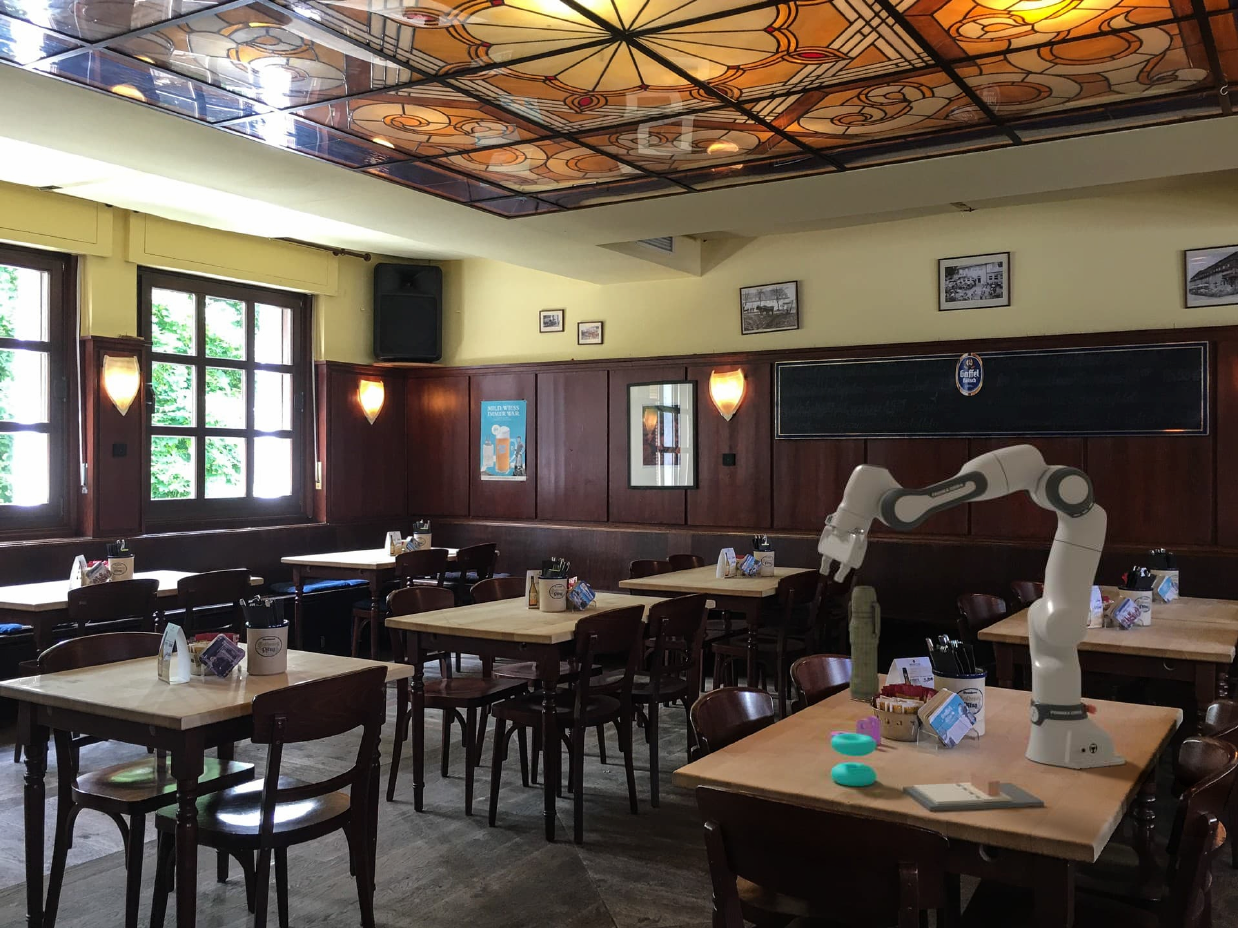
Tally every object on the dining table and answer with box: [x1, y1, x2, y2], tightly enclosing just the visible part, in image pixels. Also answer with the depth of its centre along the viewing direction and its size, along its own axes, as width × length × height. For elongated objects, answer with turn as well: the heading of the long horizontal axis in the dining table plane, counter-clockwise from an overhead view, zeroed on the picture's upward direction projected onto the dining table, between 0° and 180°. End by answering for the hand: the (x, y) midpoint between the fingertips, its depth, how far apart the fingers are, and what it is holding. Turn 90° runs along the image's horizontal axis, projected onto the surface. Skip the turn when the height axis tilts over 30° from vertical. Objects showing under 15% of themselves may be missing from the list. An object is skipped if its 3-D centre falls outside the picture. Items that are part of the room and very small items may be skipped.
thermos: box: [847, 585, 881, 701], centre depth 332 cm, size 9×12×35 cm
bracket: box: [830, 715, 882, 746], centre depth 279 cm, size 13×6×7 cm, turn 44°
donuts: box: [830, 732, 877, 787], centre depth 241 cm, size 10×10×10 cm
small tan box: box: [957, 770, 1011, 802], centre depth 228 cm, size 6×12×4 cm, turn 7°
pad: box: [902, 782, 1045, 812], centre depth 228 cm, size 25×14×2 cm, turn 98°
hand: (830, 577), depth 263 cm, fingers open, 8 cm apart
